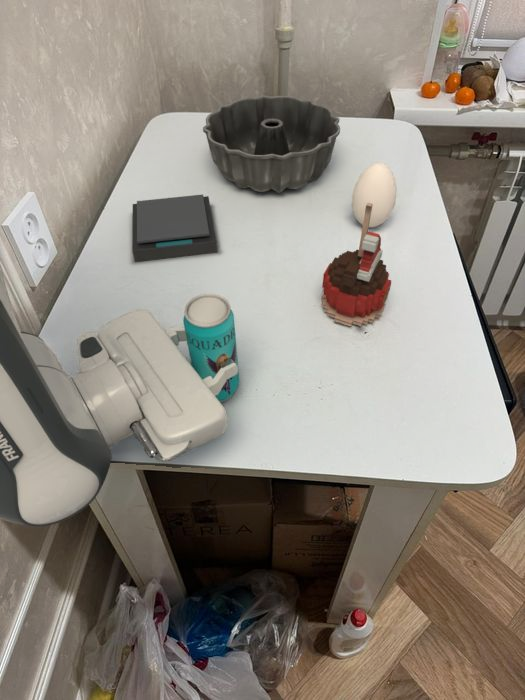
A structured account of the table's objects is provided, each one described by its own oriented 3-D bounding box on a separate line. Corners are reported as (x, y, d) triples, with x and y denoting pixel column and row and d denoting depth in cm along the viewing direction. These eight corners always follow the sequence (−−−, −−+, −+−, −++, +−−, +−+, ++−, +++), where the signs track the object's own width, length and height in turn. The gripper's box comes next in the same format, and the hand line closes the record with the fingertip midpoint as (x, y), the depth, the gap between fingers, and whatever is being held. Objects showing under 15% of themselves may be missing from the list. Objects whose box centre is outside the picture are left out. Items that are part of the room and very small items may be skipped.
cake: (335, 277, 81) (348, 176, 68) (391, 293, 79) (416, 191, 65) (310, 320, 75) (319, 218, 62) (370, 339, 72) (393, 237, 59)
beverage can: (214, 414, 64) (202, 335, 53) (188, 387, 67) (171, 307, 56) (248, 390, 67) (243, 310, 55) (221, 365, 70) (212, 284, 58)
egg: (344, 233, 89) (352, 172, 80) (353, 210, 94) (361, 150, 85) (386, 240, 88) (399, 179, 79) (392, 216, 92) (405, 156, 83)
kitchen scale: (135, 262, 85) (130, 245, 82) (135, 215, 94) (131, 198, 91) (217, 252, 86) (215, 235, 83) (209, 207, 95) (207, 190, 92)
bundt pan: (231, 133, 114) (228, 87, 107) (345, 147, 109) (351, 100, 102) (189, 195, 98) (182, 146, 90) (322, 215, 93) (326, 165, 85)
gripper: (149, 453, 48) (267, 386, 53) (73, 327, 59) (176, 282, 64) (160, 483, 53) (267, 419, 58) (88, 361, 64) (183, 316, 69)
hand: (219, 346), depth 61 cm, fingers closed on beverage can, 6 cm apart
